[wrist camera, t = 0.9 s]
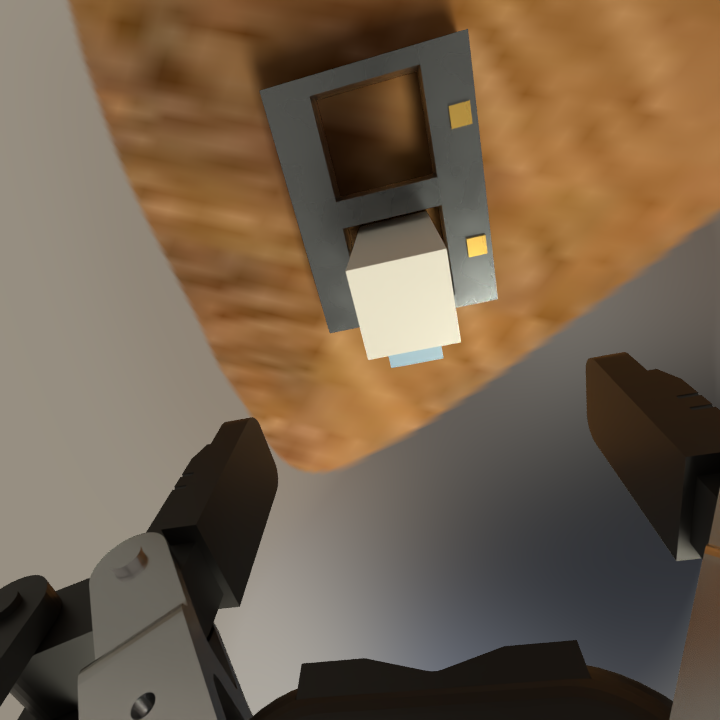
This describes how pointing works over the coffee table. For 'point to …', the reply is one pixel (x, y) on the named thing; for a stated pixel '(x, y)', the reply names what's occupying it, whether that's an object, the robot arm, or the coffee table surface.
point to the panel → (442, 188)
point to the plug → (403, 290)
